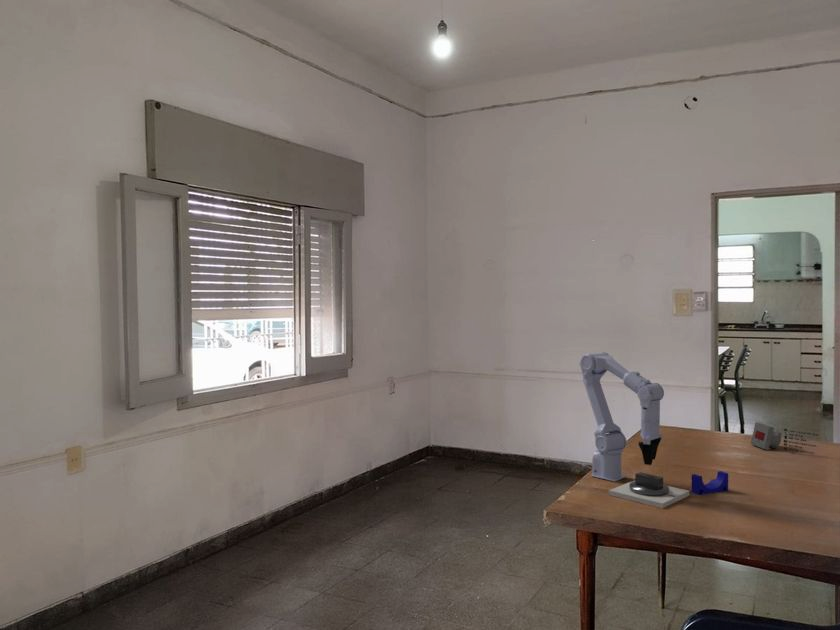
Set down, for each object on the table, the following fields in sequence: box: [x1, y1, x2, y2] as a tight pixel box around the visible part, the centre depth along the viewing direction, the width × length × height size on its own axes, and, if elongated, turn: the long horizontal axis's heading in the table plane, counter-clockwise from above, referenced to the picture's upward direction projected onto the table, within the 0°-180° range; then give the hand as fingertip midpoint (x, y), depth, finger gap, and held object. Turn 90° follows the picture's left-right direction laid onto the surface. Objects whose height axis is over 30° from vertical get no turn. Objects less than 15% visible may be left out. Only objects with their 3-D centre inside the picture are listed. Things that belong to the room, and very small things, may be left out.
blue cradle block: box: [690, 470, 729, 496], centre depth 210 cm, size 12×4×6 cm, turn 108°
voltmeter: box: [750, 421, 819, 455], centre depth 263 cm, size 27×11×10 cm, turn 40°
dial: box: [629, 471, 669, 496], centre depth 206 cm, size 12×12×4 cm
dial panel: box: [608, 479, 690, 509], centre depth 206 cm, size 18×18×2 cm
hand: (649, 461), depth 212 cm, fingers open, 7 cm apart
